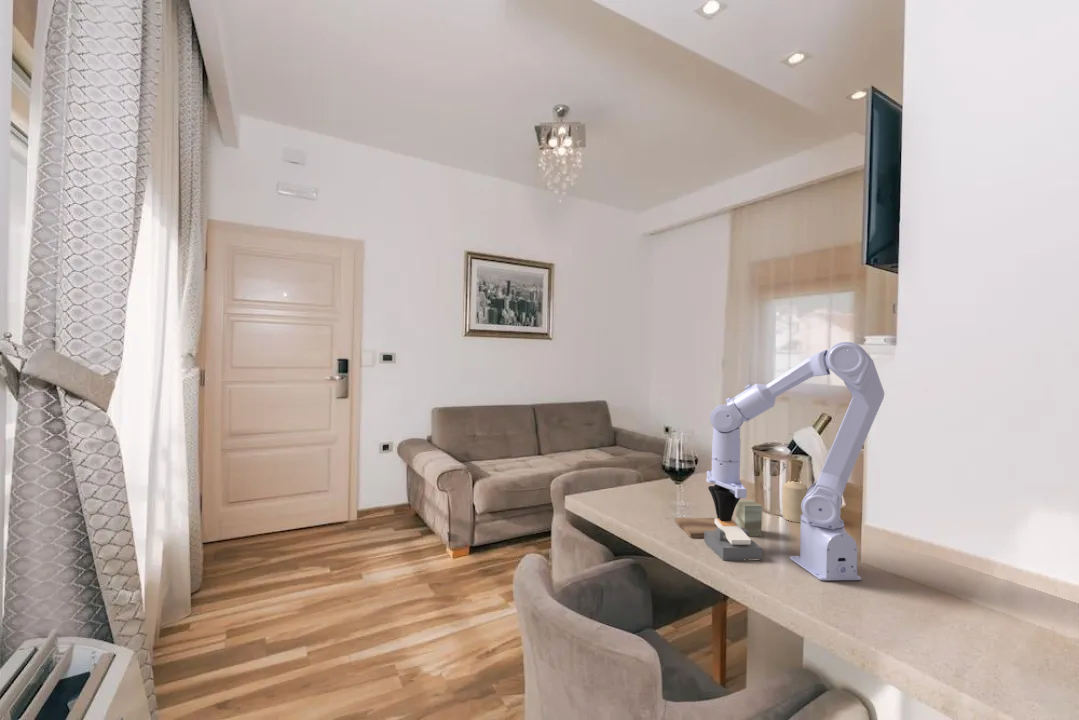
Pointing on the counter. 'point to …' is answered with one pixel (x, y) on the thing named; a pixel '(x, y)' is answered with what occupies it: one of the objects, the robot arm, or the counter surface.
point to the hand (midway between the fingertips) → (724, 521)
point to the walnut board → (696, 526)
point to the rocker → (733, 532)
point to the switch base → (731, 546)
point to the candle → (793, 500)
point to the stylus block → (749, 516)
